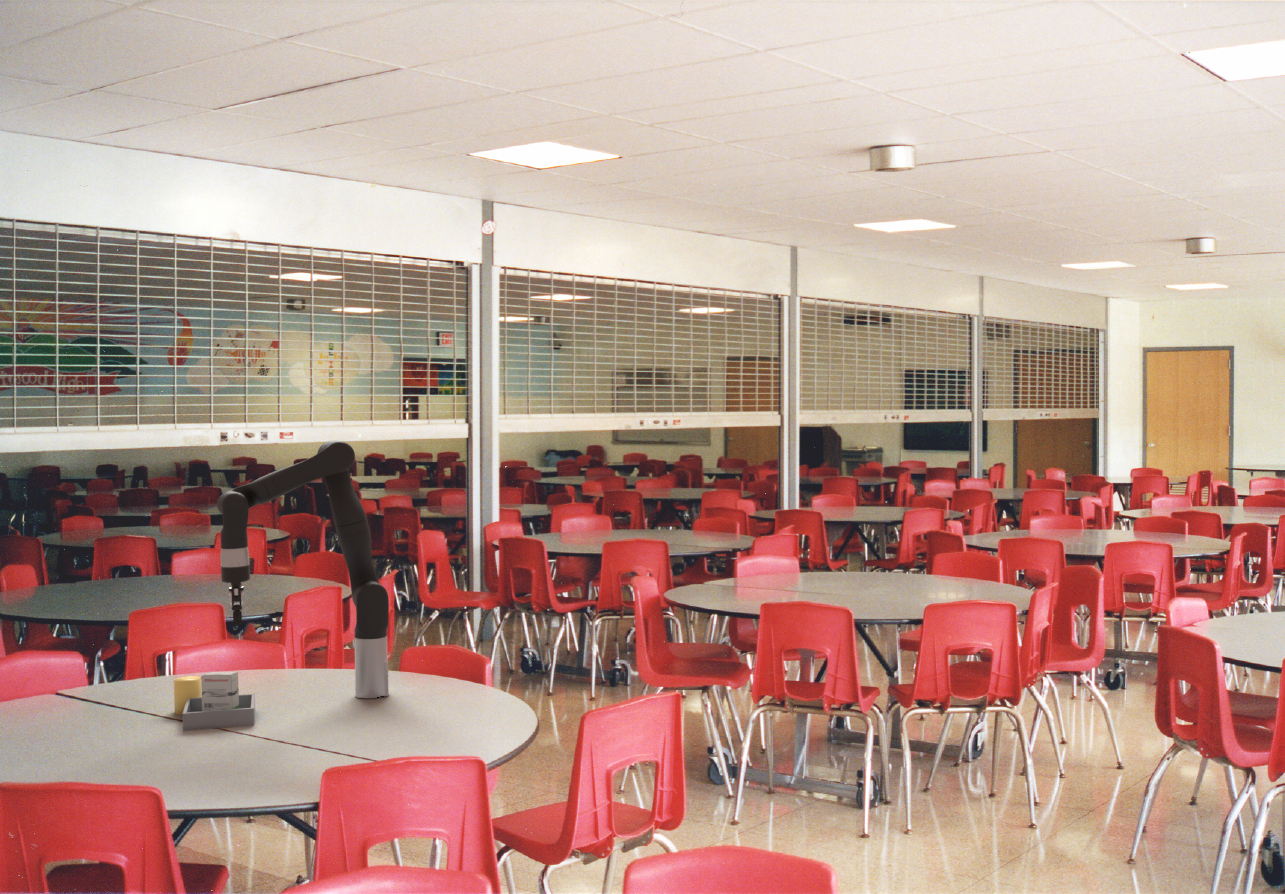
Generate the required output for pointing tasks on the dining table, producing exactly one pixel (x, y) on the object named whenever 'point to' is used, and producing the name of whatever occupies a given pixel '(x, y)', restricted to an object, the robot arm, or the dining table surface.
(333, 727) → the dining table surface
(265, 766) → the dining table surface
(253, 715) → the bus tub
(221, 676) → the ink box
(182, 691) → the yellow rounded cylinder
